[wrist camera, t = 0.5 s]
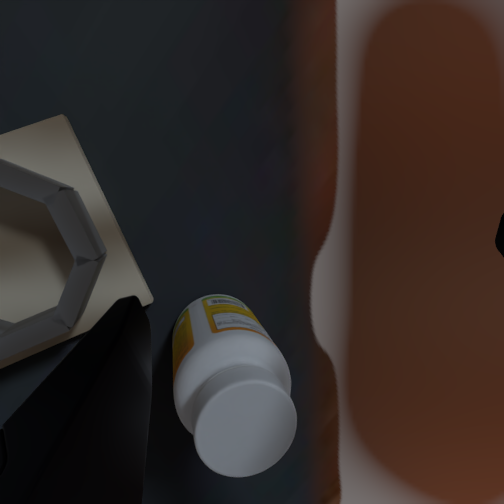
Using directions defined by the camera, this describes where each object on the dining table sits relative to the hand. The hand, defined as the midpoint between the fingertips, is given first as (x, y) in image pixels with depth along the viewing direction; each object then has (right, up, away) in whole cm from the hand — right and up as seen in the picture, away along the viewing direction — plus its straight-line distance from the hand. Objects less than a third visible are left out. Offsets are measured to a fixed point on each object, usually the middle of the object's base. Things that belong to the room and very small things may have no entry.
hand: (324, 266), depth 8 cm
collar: (-15, 0, +11) cm, 18 cm away
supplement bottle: (-4, -5, +14) cm, 15 cm away
